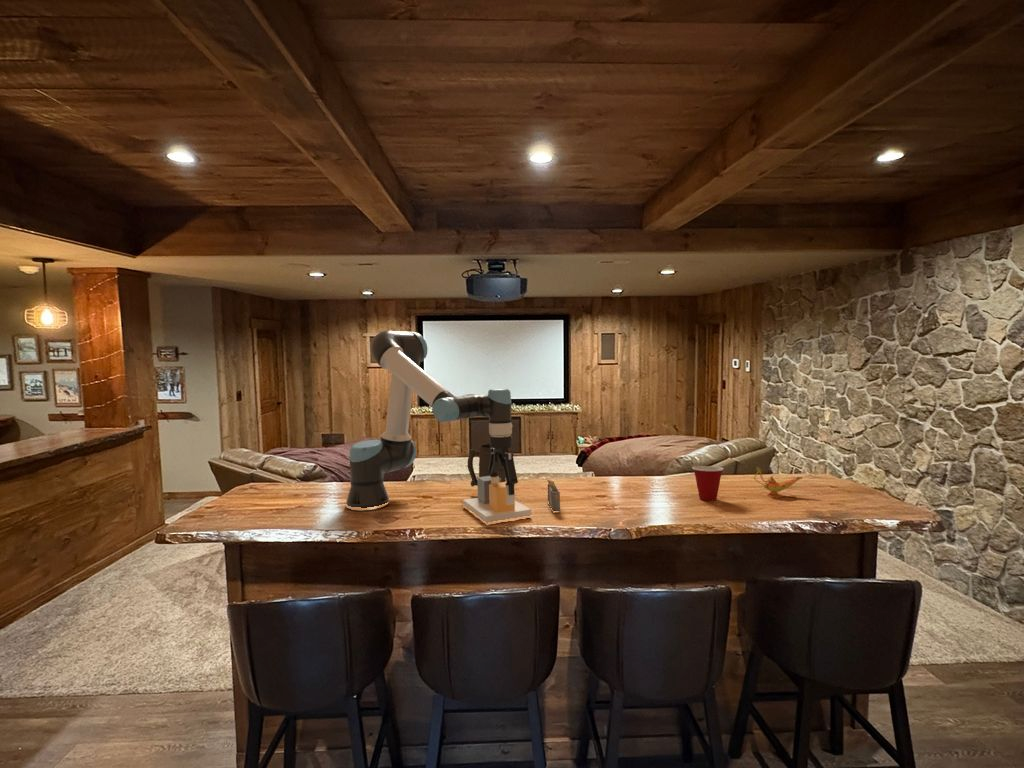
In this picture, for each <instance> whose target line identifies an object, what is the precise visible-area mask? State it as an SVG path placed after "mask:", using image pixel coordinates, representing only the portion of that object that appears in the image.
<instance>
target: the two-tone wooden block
mask: <svg viewBox="0 0 1024 768" xmlns="http://www.w3.org/2000/svg"><path fill="white" fill-rule="evenodd" d="M506 483H507V482H501V483H493V484H489V505H490V508H491V509H493V510H494V511H496V512H497V513H498V512H504V511H510V510H515V504H512V505H506V485H505V484H506Z"/></svg>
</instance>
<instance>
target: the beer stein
mask: <svg viewBox="0 0 1024 768" xmlns="http://www.w3.org/2000/svg"><path fill="white" fill-rule="evenodd" d="M490 448H491V447H490V443H486V444H480V445H479V449H478V450H476V449H474V448H471V449H469V450H468V451H469V454H468V458H467V470H468V473H469V475H470V478H471V481H470V486H471V487H474V486H475V487H476V486H477V487H478V480H477V475H476V473H475V469H474V463H473V462H474V457H478V459H479V461H478V477H484V476H490V474H488V466H489V459H490ZM498 473H499V476H498V477H499V478H500V479H501V482H506V478H505V475H504V472H503V468H502V467H501V466H500V469H499V472H498Z"/></svg>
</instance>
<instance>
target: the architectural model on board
mask: <svg viewBox="0 0 1024 768" xmlns="http://www.w3.org/2000/svg"><path fill="white" fill-rule="evenodd" d="M546 481H547V483H548V484H547V502H548V501H549V504H550V506H551V508H552V510H553V511H560V512H561V492H560V490H559V488H558V487H557V485H556V483H555V481H552V480H551V479H550V480H549V479H548V478H546ZM549 504H548V505H549Z"/></svg>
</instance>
